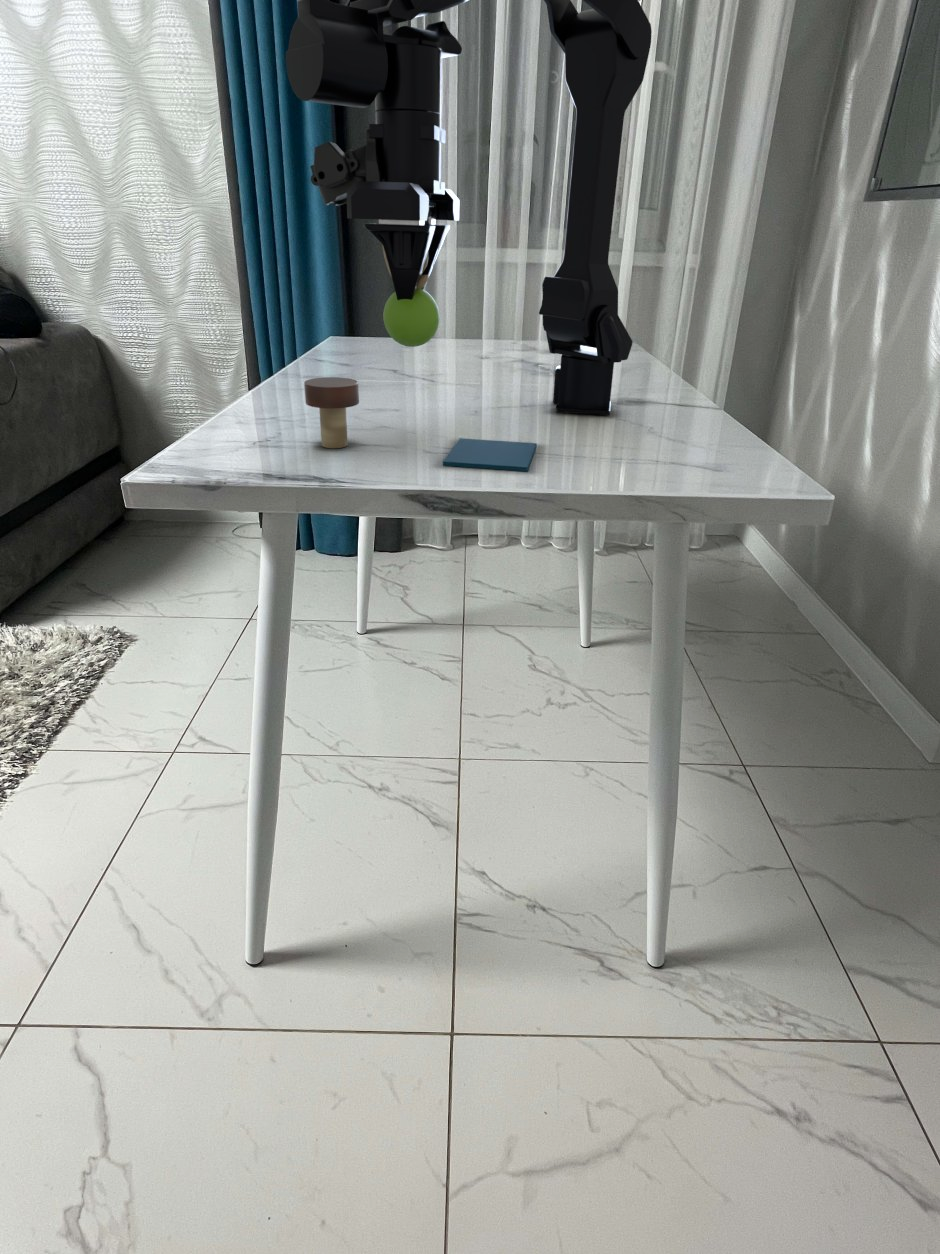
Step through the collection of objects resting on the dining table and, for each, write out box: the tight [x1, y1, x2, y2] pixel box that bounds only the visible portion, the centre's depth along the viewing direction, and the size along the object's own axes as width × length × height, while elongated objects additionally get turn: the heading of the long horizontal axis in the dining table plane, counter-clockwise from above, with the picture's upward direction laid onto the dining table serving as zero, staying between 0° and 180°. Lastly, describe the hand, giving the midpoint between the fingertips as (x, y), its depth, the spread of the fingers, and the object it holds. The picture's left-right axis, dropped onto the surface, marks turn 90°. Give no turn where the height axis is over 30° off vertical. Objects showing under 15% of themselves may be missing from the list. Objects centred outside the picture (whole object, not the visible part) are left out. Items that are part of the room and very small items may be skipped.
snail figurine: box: [381, 244, 441, 348], centre depth 77 cm, size 5×6×12 cm
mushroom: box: [303, 376, 360, 449], centre depth 80 cm, size 5×5×6 cm
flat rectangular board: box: [442, 437, 538, 472], centre depth 79 cm, size 8×9×1 cm
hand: (409, 305), depth 78 cm, fingers closed on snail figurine, 3 cm apart
